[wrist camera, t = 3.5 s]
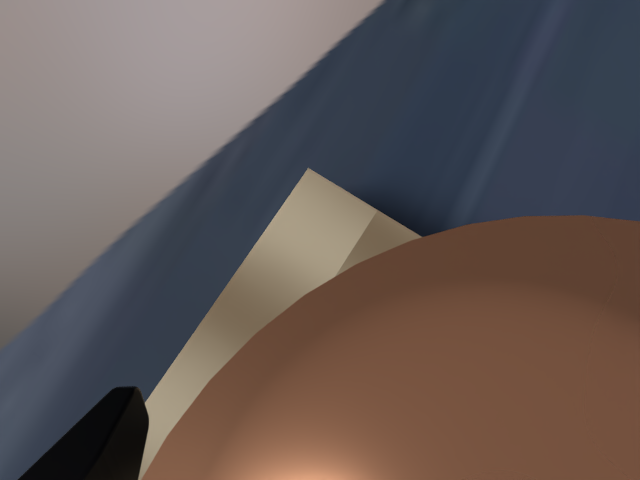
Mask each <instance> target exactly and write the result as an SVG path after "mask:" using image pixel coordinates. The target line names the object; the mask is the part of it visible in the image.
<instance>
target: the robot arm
mask: <svg viewBox="0 0 640 480" xmlns="http://www.w3.org/2000/svg"><path fill="white" fill-rule="evenodd" d="M148 429H149V415H148V412H147V409H146V406H145V402H144V399H143V396H142V393H141V391H140V389H139V388H138V387H135V386H129V387H116V388H114V389H112V390H111V391H110V392H109V393H107V394H106V395H105V396H104V397H103V398H102V399H101V400H100V401H99V402H98V403H97V404H96V405H95V406H94V407H93V408H92V409H91V410H90V411H89V412H88V413H87V414H86V415H85V416H83V417H82V418H81V419H80V420H79V421H78V422H77V423H76V424H75V425H74V426H73V427H72V428H71V429H70V430H69V431H68V432H67V433H66V434H65V435H64V436H63V437H62V438H61V439H59V440H58V441H57V442H56V443H55V444H54V445H53V446H52V447H51V448H50V449H49V450H48V451H47V452H46V453H45V454H44V455H43V456H42V457H41V458H40V459H39V460H38V461H37V462H36V463H34V464H33V465H32V466H31V467H30V468H29V469H28V470H27V471H26V472H25V473H24V474H23V475H22V476H21V477H20V478H19V479H18V480H138V478H139V473H140V468H141V464H142V459H143V454H144V449H145V444H146V439H147V434H148Z"/></svg>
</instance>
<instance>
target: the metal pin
mask: <svg viewBox="0 0 640 480" xmlns="http://www.w3.org/2000/svg"><path fill="white" fill-rule="evenodd" d="M141 480H640V222H638V221H629V220H620V219H611V218H602V217H593V216H584V215H581V216H524V217H517V218H510V219H503V220H496V221H489V222H482V223H475V224H468V225H464V226H461V227H457V228H453V229H450V230H446V231H443V232H439V233H436V234H432V235H429V236H425V237H421V238H418V239H414V240H411V241H409V242H406V243H404V244H402V245H399V246H397V247H395V248H392V249H390V250H388V251H385V252H383V253H381V254H378V255H376V256H374V257H371V258H369V259H367V260H364V261H362V262H360V263H357V264H356V265H354V266H352V267H350V268H349V269H347V270H345V271H344V272H342V273H340V274H339V275H337V276H335V277H334V278H332V279H330V280H329V281H327V282H325V283H324V284H322V285H320V286H319V287H317V288H315V289H314V290H312V291H310V292H309V293H307V294H305V295H304V296H303V297H301V298H300V299H299V300H297V301H296V302H295V303H294V304H292V305H291V306H290V307H289V308H287V309H286V310H285V311H284V312H282V313H281V314H280V315H278V316H277V317H276V318H275V319H273V320H272V321H271V322H270V323H268V324H267V325H266V326H265V327H263V328H262V329H261V330H259V331H258V332H257V333H256V334H255V335H254V336H253V337H252V338H251V339H250V340H249V341H248V342H247V343H246V344H245V345H244V346H243V347H242V348H241V349H240V350H239V351H238V352H237V353H236V354H235V355H234V356H233V357H232V358H231V359H230V360H229V361H228V362H227V363H226V364H225V365H224V366H223V367H222V368H221V369H220V370H219V371H218V372H217V373H216V374H215V375H214V376H213V377H212V378H211V379H210V380H209V382H208V383H207V384H206V386H205V387H204V388H203V390H202V391H201V392H200V393H199V395H198V396H197V397H196V399H195V400H194V401H193V403H192V404H191V405H190V407H189V408H188V409H187V410H186V412H185V413H184V414H183V416H182V417H181V418H180V420H179V421H178V422H177V424H176V425H175V426H174V427H173V429H172V430H171V431H170V433H169V434H168V435H167V437H166V439H165V440H164V442H163V444H162V445H161V447H160V449H159V450H158V452H157V454H156V455H155V457H154V459H153V461H152V462H151V464H150V466H149V467H148V469H147V471H146V472H145V474H144V476H143V477H142V479H141Z"/></svg>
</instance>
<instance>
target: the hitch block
mask: <svg viewBox="0 0 640 480" xmlns="http://www.w3.org/2000/svg"><path fill="white" fill-rule="evenodd" d="M418 238H421V236H419V235H418V234H416V233H414V232H413V231H411V230H409V229H408V228H406V227H405V226H403V225H401V224H400V223H398V222H396V221H395V220H393V219H391V218H390V217H388V216H386V215H385V214H383V213H381V212H380V211H378V210H377V209H375V208H373V207H372V206H370V205H368V204H367V203H365V202H363V201H362V200H360V199H358V198H357V197H355V196H353V195H352V194H350V193H348V192H347V191H345V190H344V189H342V188H340V187H339V186H337V185H335V184H334V183H332V182H330V181H329V180H327V179H325V178H324V177H322V176H320V175H319V174H317V173H315V172H314V171H312V170H311V169H309V168H308V169H307V171H306V172H305V174H304V175H303V177H302V178H301V180H300V181H299V182H298V184H297V185H296V187H295V188H294V190H293V191H292V192H291V194H290V195H289V197H288V198H287V200H286V201H285V203H284V204H283V205H282V207H281V208H280V210H279V211H278V213H277V214H276V215H275V217H274V218H273V220H272V221H271V223H270V224H269V226H268V227H267V228H266V230H265V231H264V233H263V234H262V236H261V237H260V238H259V240H258V241H257V243H256V244H255V246H254V247H253V249H252V250H251V251H250V253H249V254H248V256H247V257H246V259H245V260H244V261H243V263H242V264H241V266H240V267H239V269H238V270H237V272H236V273H235V274H234V276H233V277H232V279H231V280H230V282H229V283H228V284H227V286H226V287H225V289H224V290H223V292H222V293H221V295H220V296H219V297H218V299H217V300H216V302H215V303H214V305H213V306H212V307H211V309H210V310H209V312H208V313H207V315H206V316H205V318H204V319H203V320H202V322H201V323H200V325H199V326H198V328H197V329H196V330H195V332H194V333H193V335H192V336H191V338H190V339H189V341H188V342H187V343H186V345H185V346H184V348H183V349H182V351H181V352H180V353H179V355H178V356H177V358H176V359H175V361H174V362H173V364H172V365H171V366H170V368H169V369H168V371H167V372H166V374H165V375H164V376H163V378H162V379H161V381H160V382H159V384H158V385H157V387H156V388H155V389H154V391H153V392H152V394H151V395H150V397H149V398H148V399H147V401H146V402H145V406H146V409H147V412H148V415H149V429H148V434H147V439H146V444H145V449H144V454H143V459H142V464H141V468H140V473H139V478H138V480H141V479H142V477H143V476H144V474H145V472H146V471H147V469H148V467H149V466H150V464H151V462H152V461H153V459H154V457H155V455H156V454H157V452H158V450H159V449H160V447H161V445H162V444H163V442H164V440H165V439H166V437H167V435H168V434H169V433H170V431H171V430H172V429H173V427H174V426H175V425H176V424H177V422H178V421H179V420H180V418H181V417H182V416H183V414H184V413H185V412H186V410H187V409H188V408H189V407H190V405H191V404H192V403H193V401H194V400H195V399H196V397H197V396H198V395H199V393H200V392H201V391H202V390H203V388H204V387H205V386H206V384H207V383H208V382H209V380H210V379H211V378H212V377H213V376H214V375H215V374H216V373H217V372H218V371H219V370H220V369H221V368H222V367H223V366H224V365H225V364H226V363H227V362H228V361H229V360H230V359H231V358H232V357H233V356H234V355H235V354H236V353H237V352H238V351H239V350H240V349H241V348H242V347H243V346H244V345H245V344H246V343H247V342H248V341H249V340H250V339H251V338H252V337H253V336H254V335H255V334H256V333H257V332H258V331H259V330H261V329H262V328H263V327H265V326H266V325H267V324H268V323H270V322H271V321H272V320H273V319H275V318H276V317H277V316H278V315H280V314H281V313H282V312H284V311H285V310H286V309H287V308H289V307H290V306H291V305H292V304H294V303H295V302H296V301H297V300H299V299H300V298H301V297H303V296H304V295H305V294H307V293H309V292H310V291H312V290H314V289H315V288H317V287H319V286H320V285H322V284H324V283H325V282H327V281H329V280H330V279H332V278H334V277H335V276H337V275H339V274H340V273H342V272H344V271H345V270H347V269H349V268H350V267H352V266H354V265H356V264H357V263H360V262H362V261H364V260H367V259H369V258H371V257H374V256H376V255H378V254H381V253H383V252H385V251H388V250H390V249H392V248H395V247H397V246H399V245H402V244H404V243H406V242H409V241H411V240H414V239H418Z"/></svg>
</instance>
